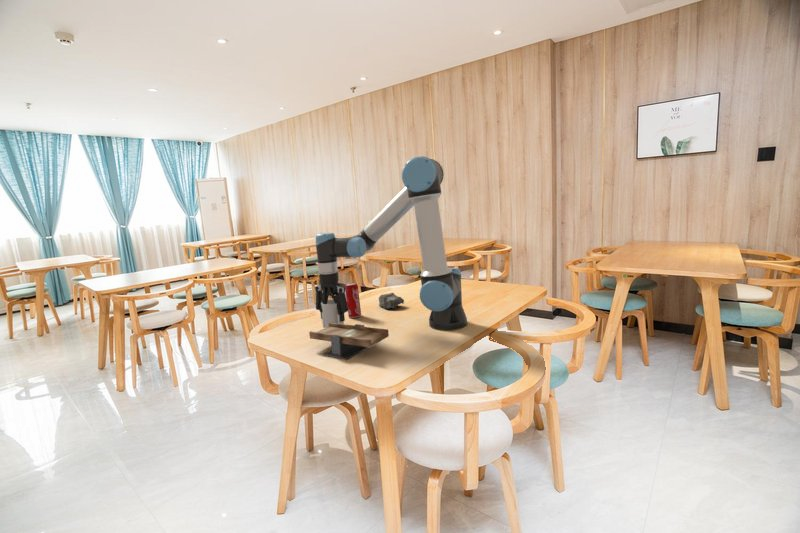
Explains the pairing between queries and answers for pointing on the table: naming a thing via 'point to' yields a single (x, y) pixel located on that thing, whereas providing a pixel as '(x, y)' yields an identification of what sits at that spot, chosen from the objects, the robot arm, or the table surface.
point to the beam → (351, 334)
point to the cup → (329, 312)
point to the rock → (389, 301)
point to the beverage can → (353, 300)
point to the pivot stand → (343, 348)
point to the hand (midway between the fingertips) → (333, 327)
